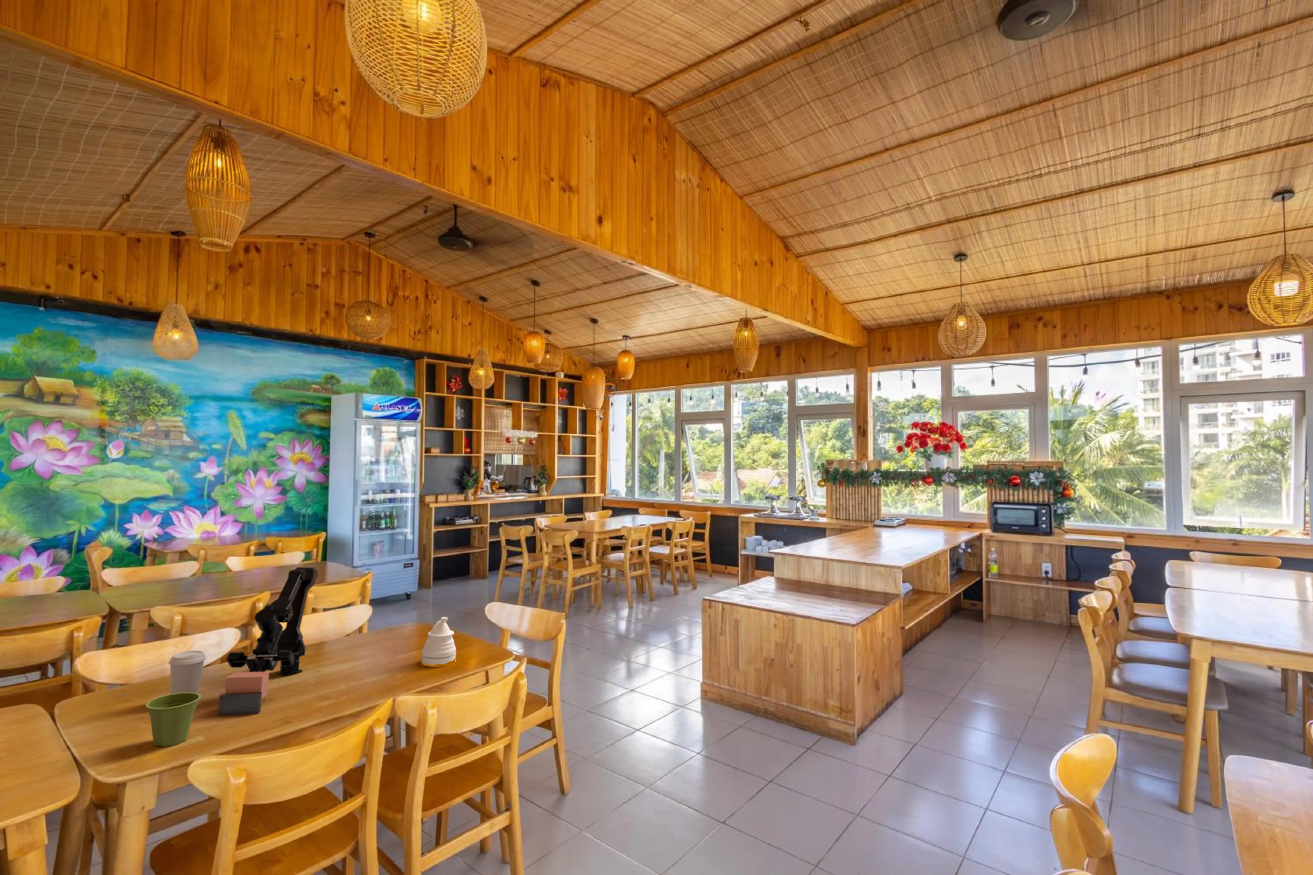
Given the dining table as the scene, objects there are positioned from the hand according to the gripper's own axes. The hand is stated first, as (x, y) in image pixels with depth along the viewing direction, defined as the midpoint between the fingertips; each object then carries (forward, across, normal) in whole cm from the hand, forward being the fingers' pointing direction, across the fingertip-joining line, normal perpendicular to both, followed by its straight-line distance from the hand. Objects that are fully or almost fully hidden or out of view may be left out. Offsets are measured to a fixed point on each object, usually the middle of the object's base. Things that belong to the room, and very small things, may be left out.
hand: (251, 683), depth 191 cm
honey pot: (-23, -52, -33) cm, 65 cm away
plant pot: (+23, +9, +13) cm, 28 cm away
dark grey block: (+5, 0, -4) cm, 7 cm away
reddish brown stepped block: (+7, 0, -2) cm, 7 cm away
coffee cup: (+1, +21, -9) cm, 23 cm away
